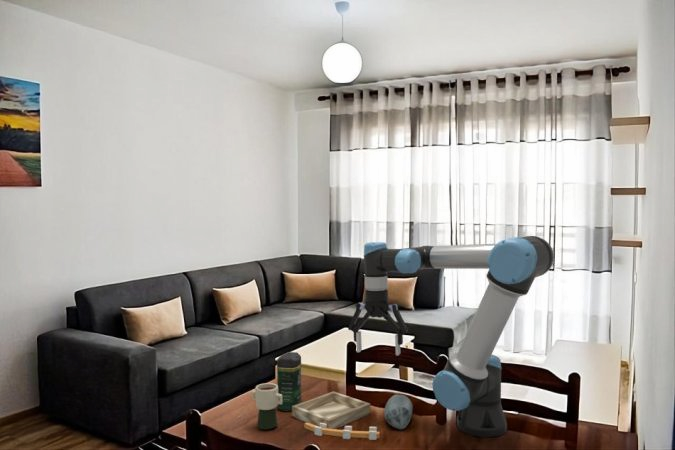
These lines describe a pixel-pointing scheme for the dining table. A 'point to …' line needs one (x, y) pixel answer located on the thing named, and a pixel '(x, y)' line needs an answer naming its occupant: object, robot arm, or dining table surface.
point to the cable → (339, 432)
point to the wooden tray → (331, 410)
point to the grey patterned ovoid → (398, 411)
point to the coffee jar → (289, 380)
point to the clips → (346, 431)
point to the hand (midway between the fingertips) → (378, 353)
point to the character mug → (267, 404)
